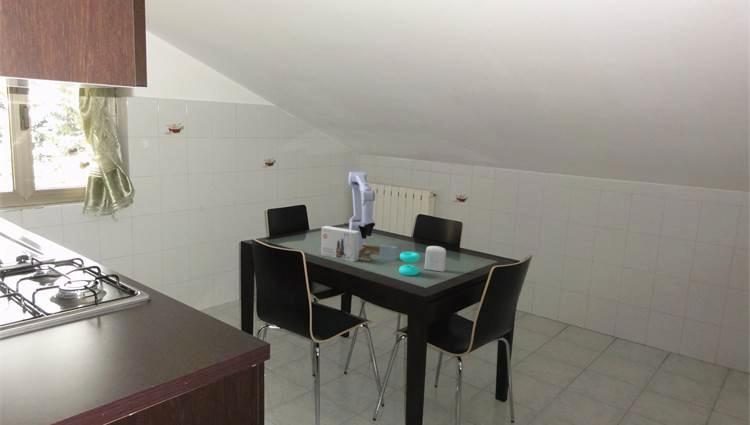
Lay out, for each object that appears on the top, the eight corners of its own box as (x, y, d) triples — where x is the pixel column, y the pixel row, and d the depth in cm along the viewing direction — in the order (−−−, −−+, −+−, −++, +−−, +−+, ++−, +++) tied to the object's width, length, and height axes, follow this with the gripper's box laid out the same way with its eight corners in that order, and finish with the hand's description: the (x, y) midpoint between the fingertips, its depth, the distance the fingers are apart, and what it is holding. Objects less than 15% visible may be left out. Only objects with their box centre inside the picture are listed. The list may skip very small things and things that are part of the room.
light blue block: (381, 257, 293) (381, 244, 292) (396, 259, 290) (397, 246, 289) (379, 258, 290) (379, 245, 289) (394, 260, 287) (395, 247, 286)
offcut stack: (362, 258, 289) (362, 250, 288) (371, 259, 287) (371, 251, 286) (360, 259, 286) (361, 251, 285) (369, 260, 285) (369, 252, 284)
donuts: (421, 252, 267) (419, 257, 257) (419, 271, 269) (418, 277, 259) (401, 250, 269) (398, 255, 259) (400, 269, 270) (397, 275, 261)
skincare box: (320, 255, 291) (320, 227, 288) (325, 253, 295) (326, 225, 293) (353, 262, 281) (354, 232, 278) (359, 259, 286) (360, 230, 283)
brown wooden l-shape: (363, 251, 303) (363, 244, 303) (385, 254, 299) (386, 247, 298) (355, 256, 292) (355, 249, 292) (378, 259, 288) (379, 252, 287)
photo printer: (445, 270, 273) (446, 246, 271) (443, 272, 269) (445, 248, 267) (425, 267, 276) (426, 244, 274) (423, 269, 272) (425, 246, 270)
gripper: (369, 215, 282) (368, 240, 285) (379, 211, 296) (377, 235, 298) (357, 214, 285) (356, 239, 287) (367, 210, 298) (366, 234, 300)
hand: (366, 237), depth 293 cm, fingers open, 7 cm apart
